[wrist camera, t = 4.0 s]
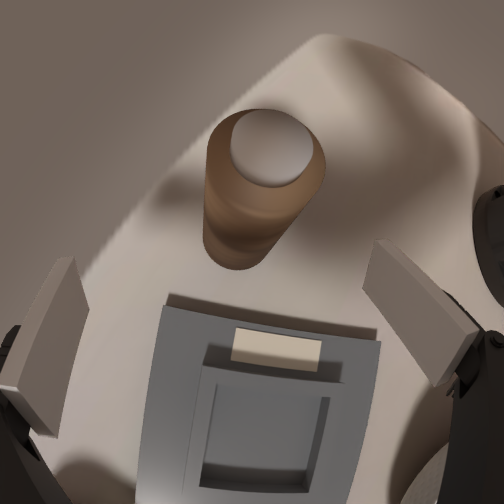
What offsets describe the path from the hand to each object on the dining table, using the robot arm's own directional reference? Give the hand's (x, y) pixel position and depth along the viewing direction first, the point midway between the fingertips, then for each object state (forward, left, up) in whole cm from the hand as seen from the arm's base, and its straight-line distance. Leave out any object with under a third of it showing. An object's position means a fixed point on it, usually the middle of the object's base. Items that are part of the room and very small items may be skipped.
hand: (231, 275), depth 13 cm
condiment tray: (-4, +9, -9) cm, 14 cm away
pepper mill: (0, -5, -9) cm, 10 cm away
